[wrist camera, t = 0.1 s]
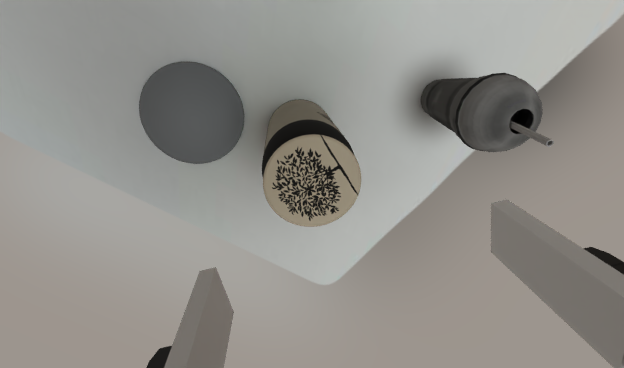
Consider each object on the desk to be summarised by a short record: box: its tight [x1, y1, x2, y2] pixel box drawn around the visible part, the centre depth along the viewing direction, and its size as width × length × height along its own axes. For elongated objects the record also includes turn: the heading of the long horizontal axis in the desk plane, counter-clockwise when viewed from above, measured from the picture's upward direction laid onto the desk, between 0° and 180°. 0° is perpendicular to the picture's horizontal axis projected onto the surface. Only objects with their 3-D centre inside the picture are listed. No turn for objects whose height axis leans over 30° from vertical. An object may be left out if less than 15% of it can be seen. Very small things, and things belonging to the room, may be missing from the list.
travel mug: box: [262, 100, 361, 227], centre depth 33 cm, size 8×8×18 cm
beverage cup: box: [421, 73, 554, 152], centre depth 32 cm, size 7×7×20 cm
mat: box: [139, 62, 244, 164], centre depth 39 cm, size 12×12×1 cm
